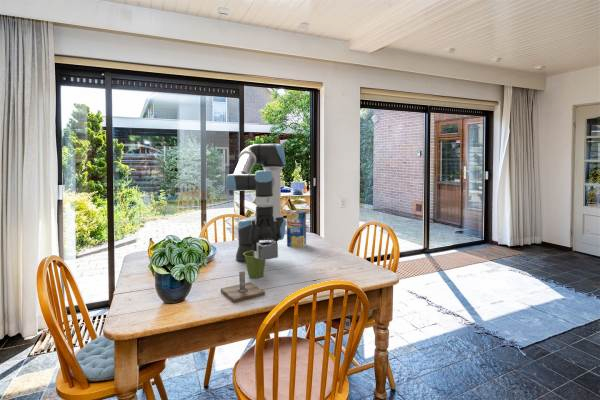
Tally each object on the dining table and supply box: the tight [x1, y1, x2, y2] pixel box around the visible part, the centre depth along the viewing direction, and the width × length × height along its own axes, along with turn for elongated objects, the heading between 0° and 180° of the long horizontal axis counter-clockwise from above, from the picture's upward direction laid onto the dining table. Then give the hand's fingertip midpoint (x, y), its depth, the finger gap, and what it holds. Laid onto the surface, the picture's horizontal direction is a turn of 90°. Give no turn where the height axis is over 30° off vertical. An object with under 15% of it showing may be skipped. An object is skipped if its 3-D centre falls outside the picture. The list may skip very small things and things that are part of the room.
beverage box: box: [286, 210, 307, 248], centre depth 231 cm, size 7×11×22 cm, turn 73°
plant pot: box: [243, 250, 266, 279], centre depth 175 cm, size 12×12×11 cm
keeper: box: [220, 270, 266, 304], centre depth 152 cm, size 14×14×10 cm
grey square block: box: [253, 240, 279, 261], centre depth 160 cm, size 8×8×6 cm
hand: (265, 256), depth 160 cm, fingers closed on grey square block, 8 cm apart
